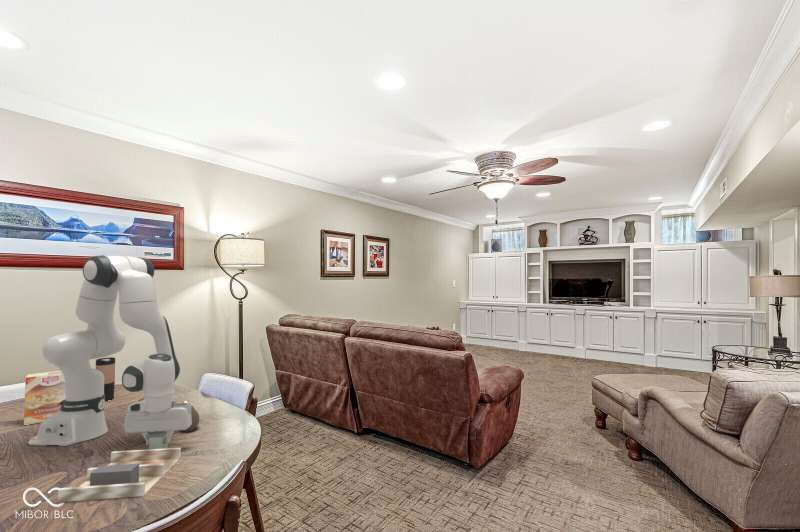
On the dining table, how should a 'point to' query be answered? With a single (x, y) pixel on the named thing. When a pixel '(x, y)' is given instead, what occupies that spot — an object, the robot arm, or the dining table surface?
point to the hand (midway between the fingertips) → (158, 443)
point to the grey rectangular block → (157, 440)
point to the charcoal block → (115, 475)
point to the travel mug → (107, 375)
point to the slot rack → (150, 472)
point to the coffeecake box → (43, 396)
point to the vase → (193, 420)
